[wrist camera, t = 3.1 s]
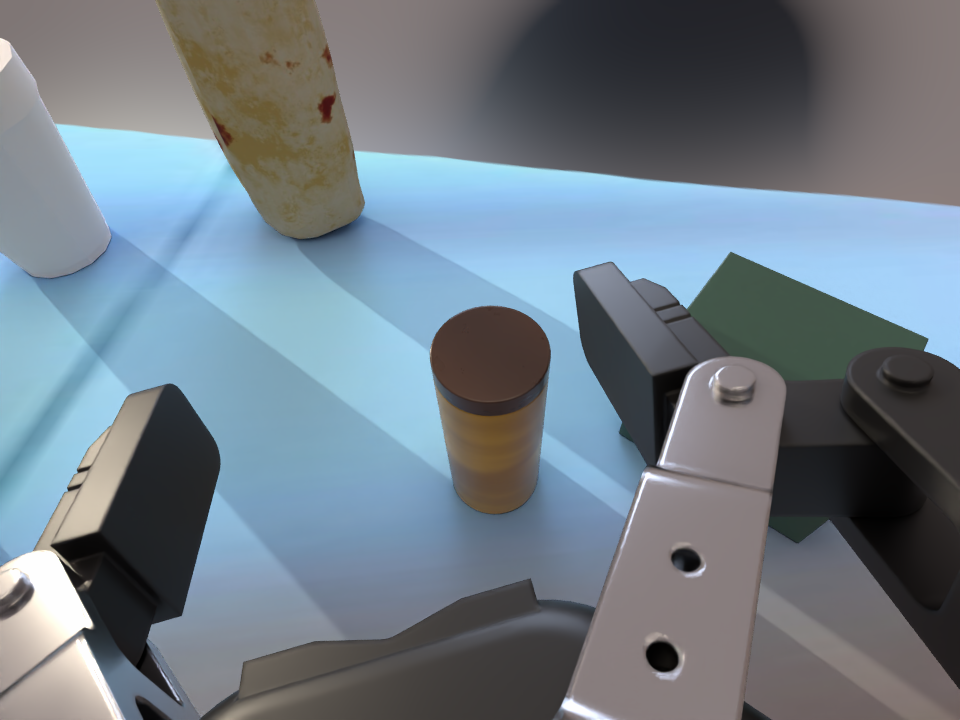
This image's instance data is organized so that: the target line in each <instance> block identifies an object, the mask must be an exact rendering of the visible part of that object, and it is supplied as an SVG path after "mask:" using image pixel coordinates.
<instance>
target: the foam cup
mask: <svg viewBox="0 0 960 720" xmlns="http://www.w3.org/2000/svg"><path fill="white" fill-rule="evenodd" d="M110 239H111V233H110V230H109V226H108V225H107V223H106V221H105V218H104V216H103V214H102V213H101V211H100V209H99V207H98V205H97V203H96V201H95V199H94V197H93V196H92V194H91V192H90V190H89V188H88V186H87V184H86V182H85V180H84V179H83V177H82V175H81V173H80V171H79V169H78V167H77V165H76V163H75V162H74V160H73V158H72V156H71V154H70V152H69V150H68V148H67V146H66V144H65V143H64V141H63V139H62V137H61V135H60V133H59V131H58V129H57V127H56V126H55V124H54V122H53V120H52V118H51V116H50V114H49V112H48V110H47V109H46V107H45V105H44V103H43V101H42V99H41V97H40V95H39V93H38V88H37V84H36V81H35V79H34V78H33V76H32V75H31V73H30V72H29V70H28V69H27V67H26V66H25V64H24V63H23V62H22V60H21V59H20V57H19V56H18V54H17V53H16V52H15V50H14V48H13V47H12V45H11V44H10V43H9V42H8V41H6V40H4V39H1V38H0V252H1V253H2V254H4V255H5V256H6V257H7V258H9V259H10V260H11V261H13V262H14V263H15V264H17V265H18V266H19V267H21V268H22V269H23V270H25V271H26V272H27V273H29V274H30V275H32V276H33V277H43V278H54V277H59V276H63V275H68V274H72V273H74V272H76V271H78V270H80V269H82V268H84V267H86V266H88V265H90V264H91V263H93V262H94V261H95V260H96V259H97V258H98V257H99V256H100V255H101V254H102V253H103V252H104V251H105V250H106V249H107V246H108V244H109V242H110Z"/></svg>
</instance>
